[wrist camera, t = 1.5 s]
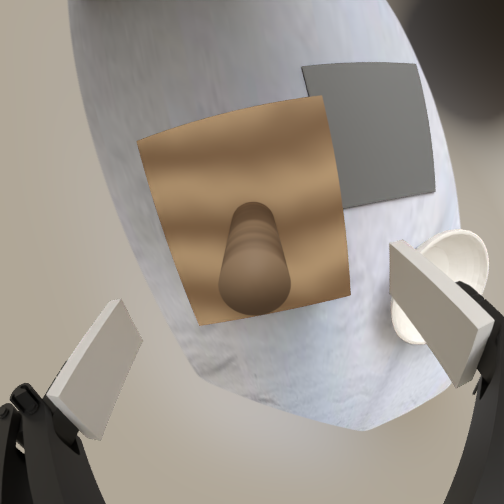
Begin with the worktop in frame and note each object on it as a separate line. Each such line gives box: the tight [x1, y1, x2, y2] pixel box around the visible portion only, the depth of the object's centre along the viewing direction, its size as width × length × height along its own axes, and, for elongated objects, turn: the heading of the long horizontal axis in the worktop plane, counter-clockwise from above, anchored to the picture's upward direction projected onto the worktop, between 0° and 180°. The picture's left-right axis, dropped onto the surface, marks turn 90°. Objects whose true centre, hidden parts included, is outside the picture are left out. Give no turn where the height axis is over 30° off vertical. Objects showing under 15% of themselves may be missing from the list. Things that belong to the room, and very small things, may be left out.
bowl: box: [391, 229, 489, 345], centre depth 36 cm, size 20×20×7 cm
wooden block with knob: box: [137, 95, 351, 326], centre depth 24 cm, size 18×15×23 cm
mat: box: [302, 62, 435, 208], centre depth 31 cm, size 19×17×1 cm
